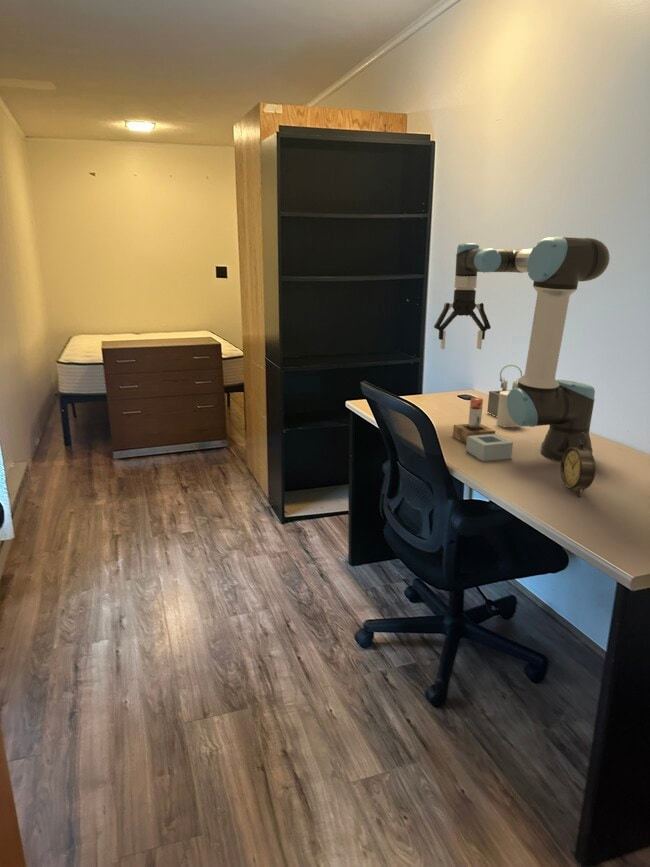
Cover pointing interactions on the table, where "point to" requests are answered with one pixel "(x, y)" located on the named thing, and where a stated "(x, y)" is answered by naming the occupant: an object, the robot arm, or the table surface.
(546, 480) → the table surface
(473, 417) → the pin
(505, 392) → the cream cylinder
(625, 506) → the table surface
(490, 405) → the box
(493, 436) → the frame
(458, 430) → the mount
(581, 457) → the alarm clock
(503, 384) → the headphones
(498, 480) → the table surface
